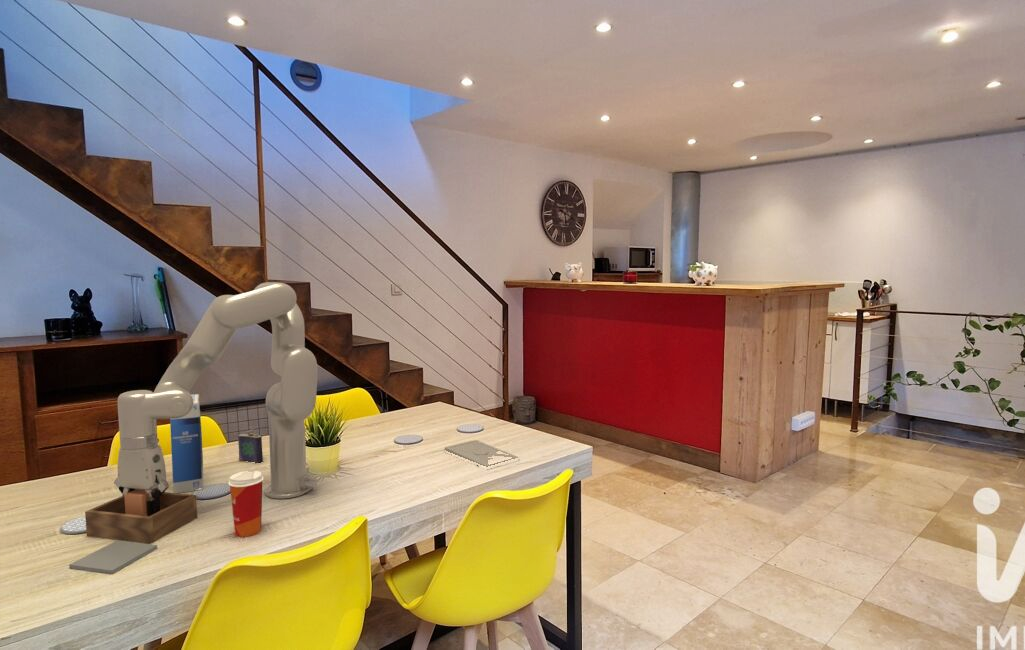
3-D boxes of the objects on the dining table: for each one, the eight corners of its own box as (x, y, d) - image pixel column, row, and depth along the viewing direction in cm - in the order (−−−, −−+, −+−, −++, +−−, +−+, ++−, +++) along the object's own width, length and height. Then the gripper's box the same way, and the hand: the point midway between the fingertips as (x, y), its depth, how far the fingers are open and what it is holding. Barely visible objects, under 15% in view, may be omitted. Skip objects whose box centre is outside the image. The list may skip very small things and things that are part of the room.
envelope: (486, 472, 174) (518, 462, 183) (486, 465, 174) (518, 456, 183) (444, 452, 192) (475, 445, 201) (444, 446, 192) (475, 439, 201)
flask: (237, 461, 182) (236, 430, 182) (244, 458, 185) (243, 427, 184) (259, 464, 179) (258, 432, 179) (265, 461, 182) (264, 430, 181)
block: (160, 511, 136) (159, 488, 135) (142, 520, 131) (141, 496, 130) (143, 509, 137) (142, 486, 136) (125, 518, 132) (124, 494, 131)
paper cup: (238, 525, 135) (236, 470, 134) (270, 524, 135) (268, 469, 134) (224, 540, 127) (221, 482, 126) (258, 538, 128) (256, 480, 127)
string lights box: (175, 479, 166) (170, 396, 163) (204, 475, 169) (200, 393, 167) (173, 494, 154) (168, 405, 152) (204, 489, 158) (199, 402, 156)
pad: (157, 548, 123) (157, 545, 123) (112, 574, 112) (112, 570, 112) (117, 543, 125) (117, 540, 125) (69, 568, 115) (69, 564, 115)
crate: (197, 517, 139) (196, 495, 138) (150, 543, 125) (148, 518, 125) (138, 511, 143) (137, 489, 142) (86, 536, 129) (85, 511, 129)
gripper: (181, 439, 134) (185, 510, 136) (123, 435, 138) (128, 504, 139) (155, 448, 127) (159, 523, 128) (95, 443, 130) (100, 516, 132)
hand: (143, 512), depth 134 cm, fingers open, 5 cm apart
